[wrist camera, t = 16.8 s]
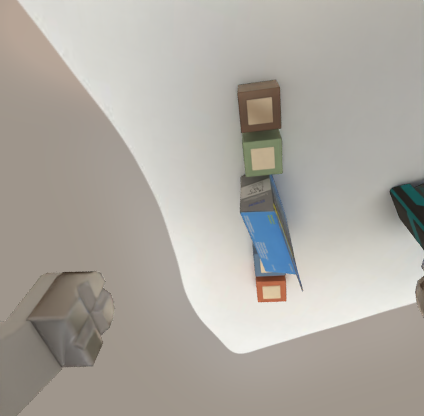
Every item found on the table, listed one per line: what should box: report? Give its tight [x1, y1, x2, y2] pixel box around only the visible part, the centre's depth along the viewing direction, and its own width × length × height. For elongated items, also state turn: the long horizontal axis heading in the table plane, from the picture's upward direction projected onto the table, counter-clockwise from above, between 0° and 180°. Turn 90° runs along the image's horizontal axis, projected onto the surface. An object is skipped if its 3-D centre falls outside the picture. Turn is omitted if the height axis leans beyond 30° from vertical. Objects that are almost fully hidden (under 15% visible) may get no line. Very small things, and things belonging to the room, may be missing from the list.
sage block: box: [242, 129, 283, 177], centre depth 34 cm, size 4×4×4 cm
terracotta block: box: [256, 275, 286, 302], centre depth 45 cm, size 4×4×4 cm
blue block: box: [253, 243, 286, 277], centre depth 42 cm, size 4×4×4 cm
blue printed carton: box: [240, 175, 303, 291], centre depth 35 cm, size 9×4×12 cm, turn 22°
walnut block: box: [238, 80, 281, 133], centre depth 32 cm, size 4×4×4 cm
